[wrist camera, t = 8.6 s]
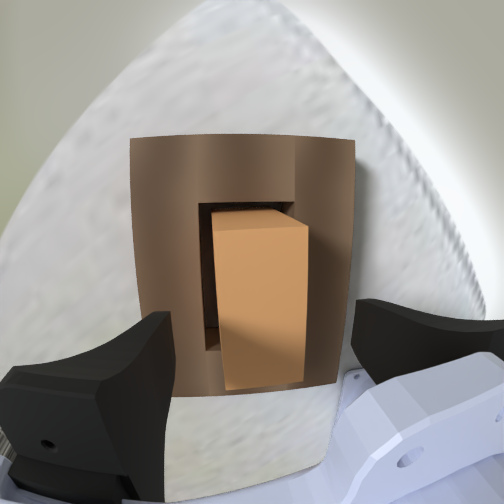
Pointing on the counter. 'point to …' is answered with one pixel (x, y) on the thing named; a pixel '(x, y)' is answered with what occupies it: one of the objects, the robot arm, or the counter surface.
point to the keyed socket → (240, 190)
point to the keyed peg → (260, 295)
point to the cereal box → (6, 447)
